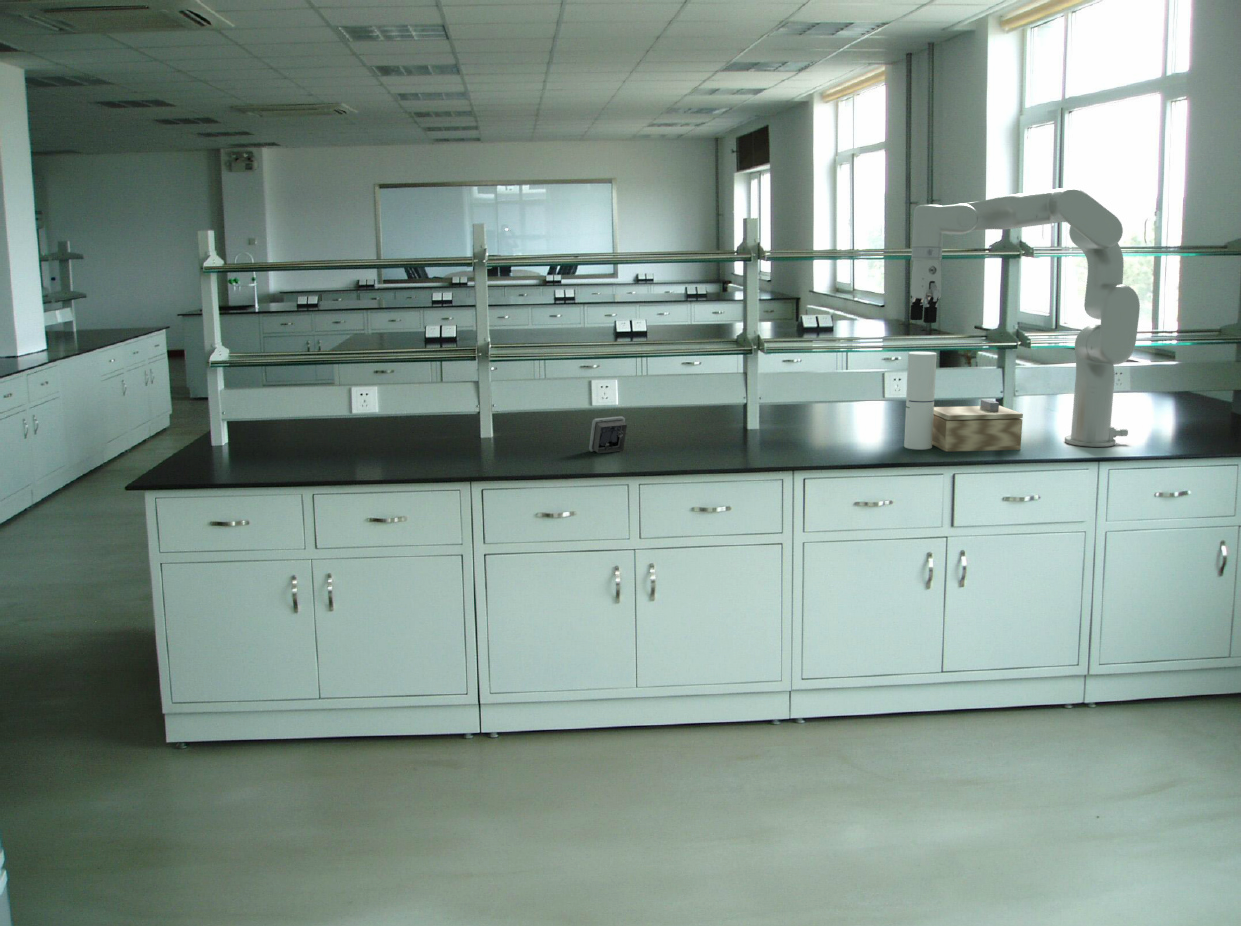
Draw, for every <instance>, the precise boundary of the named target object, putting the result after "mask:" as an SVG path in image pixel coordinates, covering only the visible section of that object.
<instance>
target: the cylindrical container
mask: <svg viewBox="0 0 1241 926" xmlns="http://www.w3.org/2000/svg"><path fill="white" fill-rule="evenodd" d="M907 354H908V355H907V376H906V377H907V378H906V396H905V419H904V421H905V422H904V439H903V440H904V443H903V447H904V448H905V449H909V450H930V449H932V448H933V445H932V435H933V416H934V407H935V394H936V393H935V392H936V372H937V356H938V354H937V352H933V351H909V352H908V353H907Z"/></svg>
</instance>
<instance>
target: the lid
mask: <svg viewBox="0 0 1241 926" xmlns="http://www.w3.org/2000/svg"><path fill="white" fill-rule="evenodd" d="M934 414H935V415H937V416H940V417H942V418H944V419H947V420H970V419H1013V418H1020V419H1024V418H1023V417H1024V413H1023V412H1019V411H1016V410H1014V409H1010V408H1008V407H1004V406H1002V405H1000V403H999V402H998V401H995V400H993V399H990V398H989V399H988V398H987V399H980V405H977V406H976V405H975V406H974V405H972V406H970V405H969V406H968V405H967V406H934Z"/></svg>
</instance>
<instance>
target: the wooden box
mask: <svg viewBox="0 0 1241 926" xmlns="http://www.w3.org/2000/svg"><path fill="white" fill-rule="evenodd" d="M1023 419H1024V418H1013V419H970V420H947V419H944V418H942V417H940V416H937V415H935V414H934V416H933V435H932V446H935V447H937V448H938V449H940V450H942V451H944V452H975V451H976V452H979V451H981V452H982V451H1013V450H1014V451H1015V450H1016V451H1017V450H1018V451H1019V450H1021V448H1022V447H1021V445H1022V433H1023Z"/></svg>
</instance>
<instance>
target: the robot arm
mask: <svg viewBox="0 0 1241 926" xmlns="http://www.w3.org/2000/svg"><path fill="white" fill-rule="evenodd" d="M912 220H913V225H912V239H911V261H913V264H912V271H911V281H910V312H909V313H910V315H909V319H910V321H922V320H923V323H925V324H935V323H937V313H938V301H939V300H940V298H941V296H942V264H941V263H942V262H941V261H942V259H943V242H944V235H965V234H968V233H969V232H976V231H985V230H1010V229H1012V230H1014V229H1022V228H1027V227H1035V226H1044V225H1050V224H1051V225H1052V224H1057V223H1067V224H1069V230H1068V231H1069V232H1068V234H1069V237H1070V240H1071V242H1072V243H1073V244H1074V245H1075V246H1076V247H1078V248H1079V249H1080V250H1081V252H1083V254H1084V256H1085V258H1086V263H1087V278H1086V287H1085V294H1084V295H1085V296H1084V305H1083V307H1084V311H1085V313H1086V314H1087V315H1088V316H1089V317H1090V318H1093V319H1095V320H1100V324H1091V325H1087V326H1085V327H1084V328H1082V329H1081V330H1080V331H1079V332H1078V333H1077V336H1076V337H1075V341H1074V356H1075V383H1074V392H1073V395H1074V396H1073V407H1072V408H1073V409H1072V419H1071V420H1072V421H1071V433H1070V435H1066V436H1065V437H1064V442H1065V443H1067V444H1069V445H1074V446H1079V447H1091V448H1093V447H1094V448H1104V447H1113V446H1115V445H1116V442H1117V441H1116V439H1115V438H1116V437H1128V435H1129V430H1128V429H1127V428H1122V429H1121V428H1120V429H1118V428H1115V427H1113V426H1111V425H1112V416H1113V415H1112V414H1113V401H1114V392H1115V391H1114V389H1115V382H1116V381H1115V379H1116V378H1115V377H1116V376H1115V372H1116V371H1115V366H1116V365H1117V366H1118V365H1121V364H1123V363H1125V362H1126V361H1128V360H1129V359H1130V358H1131V356H1132V355H1133V353H1134V351H1135V348H1136V342H1137V335H1138V329H1139V320H1140V319H1139V318H1140V312H1141V311H1140V309H1141V308H1140V306H1141V305H1140V299H1139V296H1138V294H1137V292H1136V291H1135V290H1134V288H1132V287H1131V286H1129V285H1128V284H1127V285H1126V284H1123V281H1124V268H1125V267H1124V265H1125V263H1124V261H1125V260H1124V254H1123V250H1122V248H1121V247H1120V245H1119V242H1120V240H1121V239H1122V237H1123V234H1124V233H1123V232H1124V229H1123V225H1122V221H1120V219H1119V218H1118V217H1117V215H1115V214H1114V213H1113V212H1111V211H1110V210H1108V208H1106V207H1104V206H1103V205H1102V204H1101V203H1100V202H1098V201H1097V200H1095V199H1094V198H1093V197H1092V196H1090V195H1089V194H1088V193H1086V192H1085V191H1083V190H1081V189H1079V188H1078V187H1064V188H1055V189H1054V188H1053V189H1046V190H1039V191H1033V192H1024V193H1016V194H1009V195H1003V196H998V197H994V198H990V199H985V200H977V201H972V202H971V201H969V202H964V203H963V202H962V203H956V204H954V203H953V204H947V205H940V204H920V205H916V207H915V208H914V210H913V219H912ZM923 302H924V304H925V306H924V304H923Z"/></svg>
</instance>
